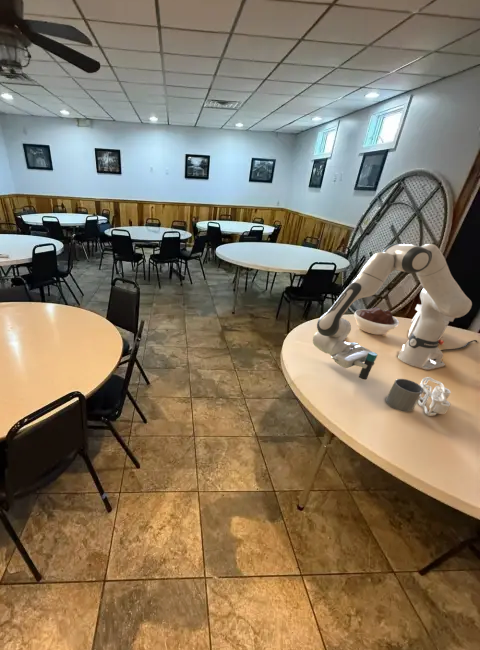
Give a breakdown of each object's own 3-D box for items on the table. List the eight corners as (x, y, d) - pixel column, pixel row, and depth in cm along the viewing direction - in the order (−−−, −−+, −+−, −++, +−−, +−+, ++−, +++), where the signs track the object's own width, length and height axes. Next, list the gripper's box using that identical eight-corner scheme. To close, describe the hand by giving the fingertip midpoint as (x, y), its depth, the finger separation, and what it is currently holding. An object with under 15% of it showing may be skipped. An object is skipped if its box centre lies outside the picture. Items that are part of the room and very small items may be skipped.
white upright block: (438, 331, 205) (452, 305, 196) (440, 347, 183) (456, 319, 174) (405, 323, 213) (417, 297, 204) (403, 338, 191) (416, 310, 182)
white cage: (443, 421, 123) (452, 406, 120) (411, 409, 129) (419, 394, 125) (444, 398, 138) (452, 384, 134) (415, 388, 143) (423, 374, 139)
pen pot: (400, 396, 136) (409, 378, 131) (418, 411, 128) (429, 392, 123) (380, 397, 134) (389, 379, 129) (397, 412, 126) (408, 393, 121)
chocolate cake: (341, 323, 204) (349, 301, 197) (373, 322, 210) (382, 300, 203) (368, 340, 184) (378, 316, 176) (402, 338, 190) (413, 315, 182)
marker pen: (363, 375, 144) (373, 351, 138) (368, 379, 141) (379, 355, 135) (356, 375, 144) (366, 351, 137) (361, 380, 141) (372, 355, 134)
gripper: (331, 350, 141) (358, 364, 132) (358, 341, 151) (385, 354, 141) (326, 362, 145) (353, 377, 135) (353, 353, 154) (380, 366, 145)
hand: (370, 365), depth 138 cm, fingers closed on marker pen, 3 cm apart
